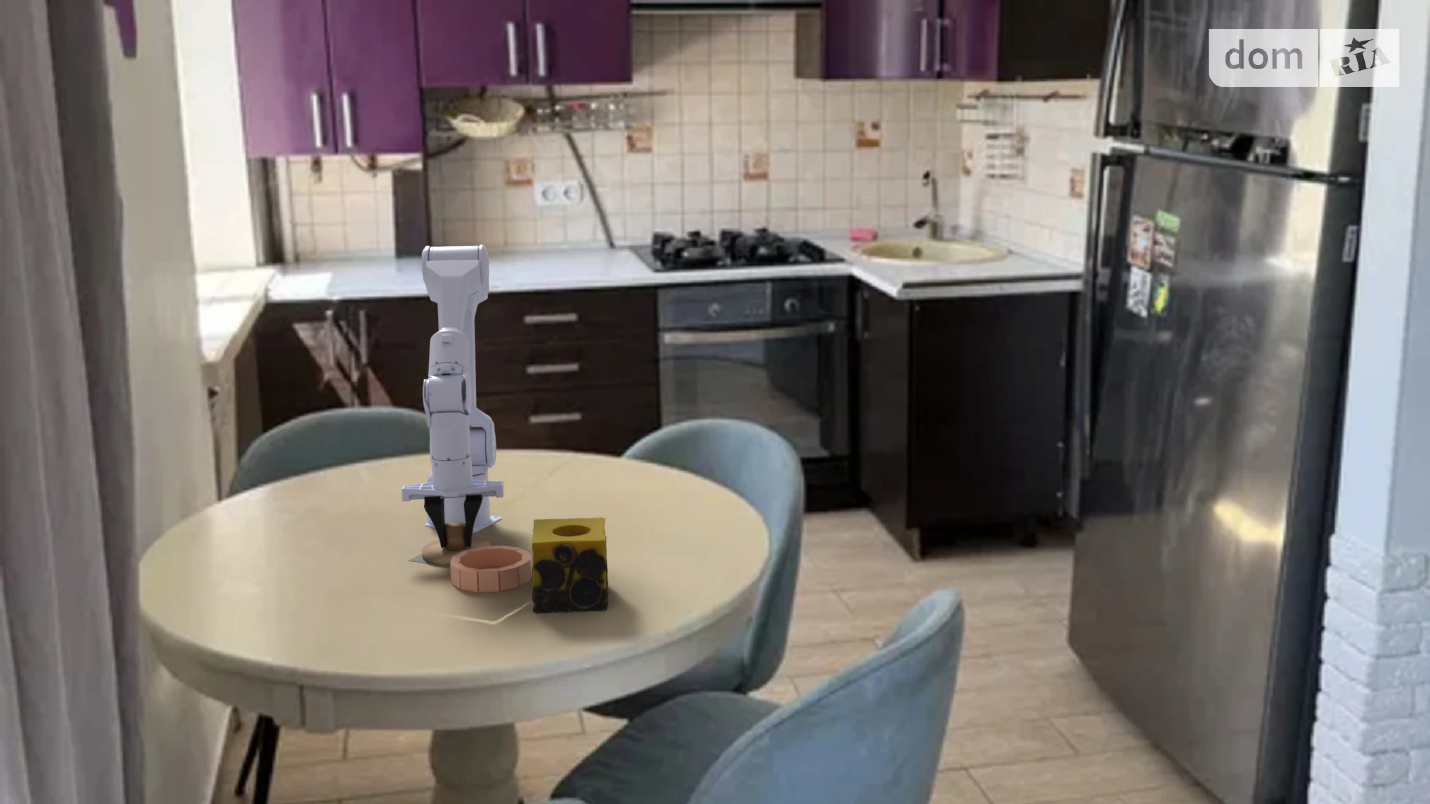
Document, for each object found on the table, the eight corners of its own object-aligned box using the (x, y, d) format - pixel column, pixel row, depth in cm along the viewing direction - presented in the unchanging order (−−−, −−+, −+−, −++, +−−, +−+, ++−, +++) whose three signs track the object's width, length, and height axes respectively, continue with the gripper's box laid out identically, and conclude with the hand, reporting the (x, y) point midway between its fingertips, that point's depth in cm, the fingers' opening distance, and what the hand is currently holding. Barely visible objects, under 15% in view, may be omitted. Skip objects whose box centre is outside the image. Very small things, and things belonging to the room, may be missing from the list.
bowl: (436, 587, 190) (434, 565, 189) (481, 563, 200) (480, 542, 199) (503, 598, 185) (502, 576, 185) (546, 573, 195) (545, 551, 194)
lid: (408, 560, 200) (406, 530, 199) (449, 540, 209) (447, 511, 208) (465, 569, 196) (463, 538, 195) (504, 548, 205) (502, 518, 204)
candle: (535, 588, 189) (531, 518, 187) (608, 584, 190) (606, 515, 188) (531, 615, 180) (528, 542, 177) (609, 611, 180) (606, 539, 178)
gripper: (396, 464, 195) (402, 556, 198) (499, 461, 196) (504, 551, 199) (403, 452, 201) (409, 540, 204) (502, 448, 203) (507, 536, 206)
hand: (456, 545), depth 202 cm, fingers closed on lid, 3 cm apart
